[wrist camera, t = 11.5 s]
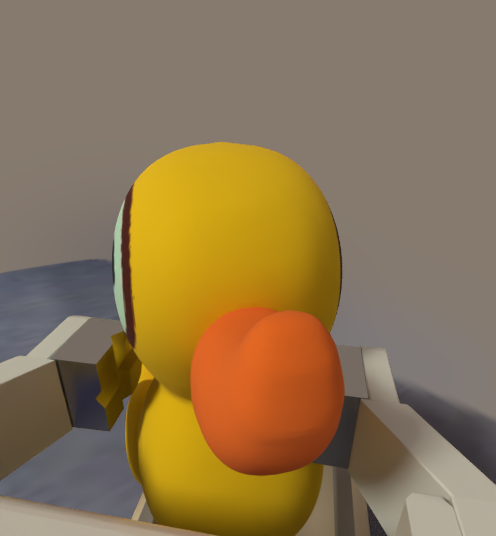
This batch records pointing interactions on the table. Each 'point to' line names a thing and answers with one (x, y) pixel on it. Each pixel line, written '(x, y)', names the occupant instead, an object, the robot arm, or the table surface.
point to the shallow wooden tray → (318, 508)
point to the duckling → (229, 338)
